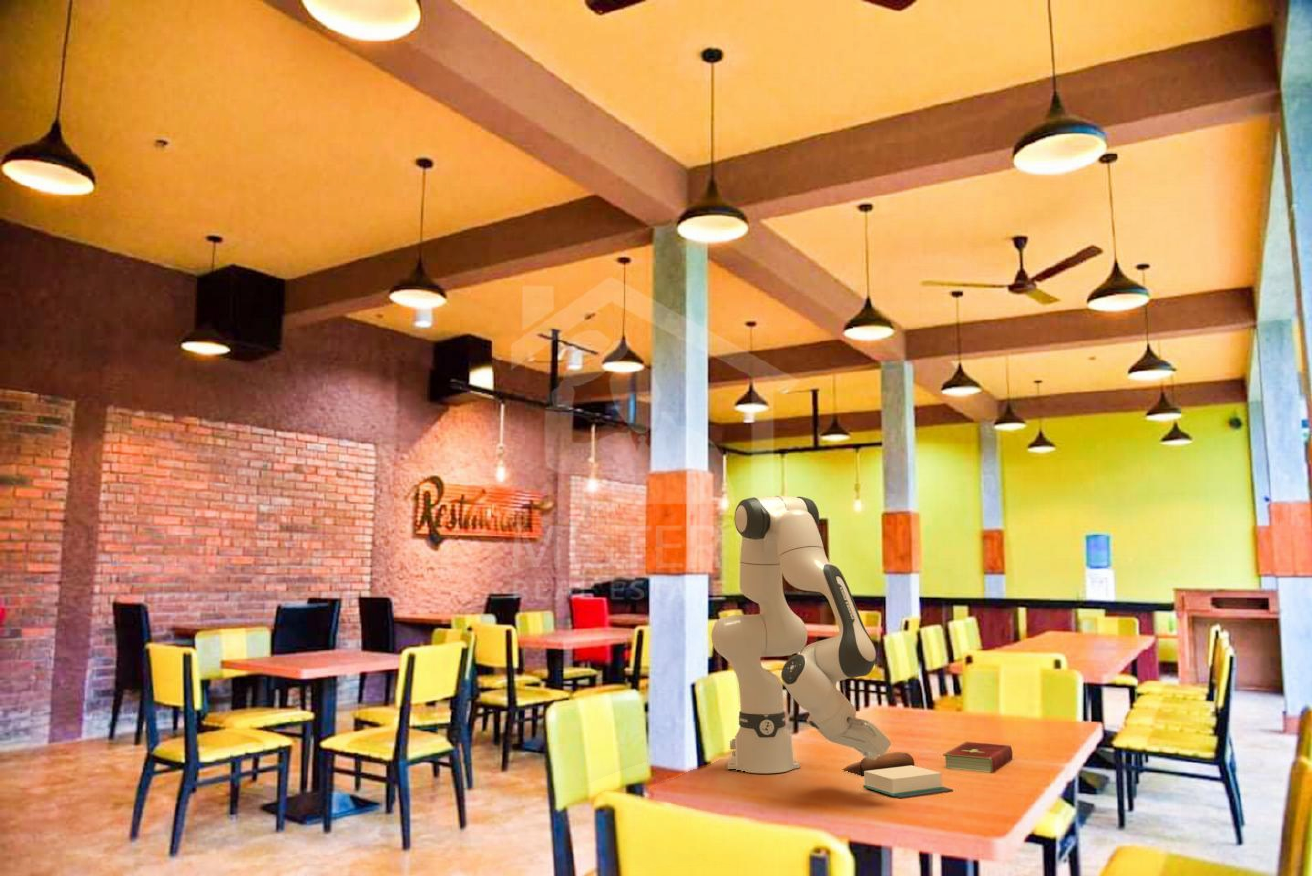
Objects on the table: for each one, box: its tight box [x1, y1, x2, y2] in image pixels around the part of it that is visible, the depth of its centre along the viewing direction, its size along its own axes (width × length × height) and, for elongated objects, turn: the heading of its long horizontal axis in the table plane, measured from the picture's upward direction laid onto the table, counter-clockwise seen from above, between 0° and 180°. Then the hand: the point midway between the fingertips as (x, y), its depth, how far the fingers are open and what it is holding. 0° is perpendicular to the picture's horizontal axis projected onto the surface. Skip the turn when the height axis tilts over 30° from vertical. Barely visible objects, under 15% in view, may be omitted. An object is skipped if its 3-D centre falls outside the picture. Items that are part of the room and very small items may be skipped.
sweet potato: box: [842, 751, 915, 777], centre depth 229 cm, size 18×7×7 cm, turn 121°
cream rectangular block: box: [863, 765, 943, 797], centre depth 207 cm, size 4×10×14 cm
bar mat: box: [863, 784, 954, 800], centre depth 207 cm, size 15×13×1 cm
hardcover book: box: [942, 741, 1014, 774], centre depth 235 cm, size 12×21×4 cm, turn 146°
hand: (872, 757), depth 205 cm, fingers closed
